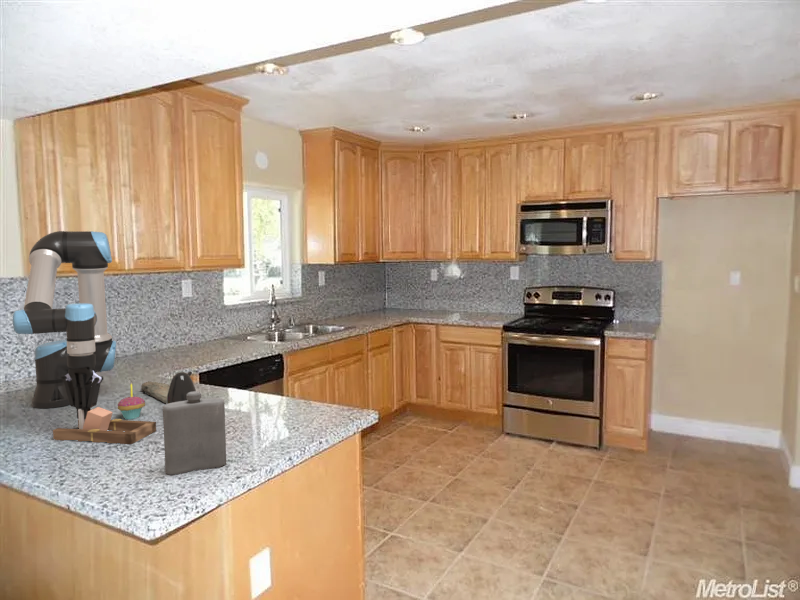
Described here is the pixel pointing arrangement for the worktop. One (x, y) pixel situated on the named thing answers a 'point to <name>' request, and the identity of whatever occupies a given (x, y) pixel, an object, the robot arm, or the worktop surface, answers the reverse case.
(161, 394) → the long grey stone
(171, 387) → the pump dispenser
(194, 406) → the flask
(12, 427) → the worktop surface
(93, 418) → the block
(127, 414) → the cupcake
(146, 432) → the slotted beam
